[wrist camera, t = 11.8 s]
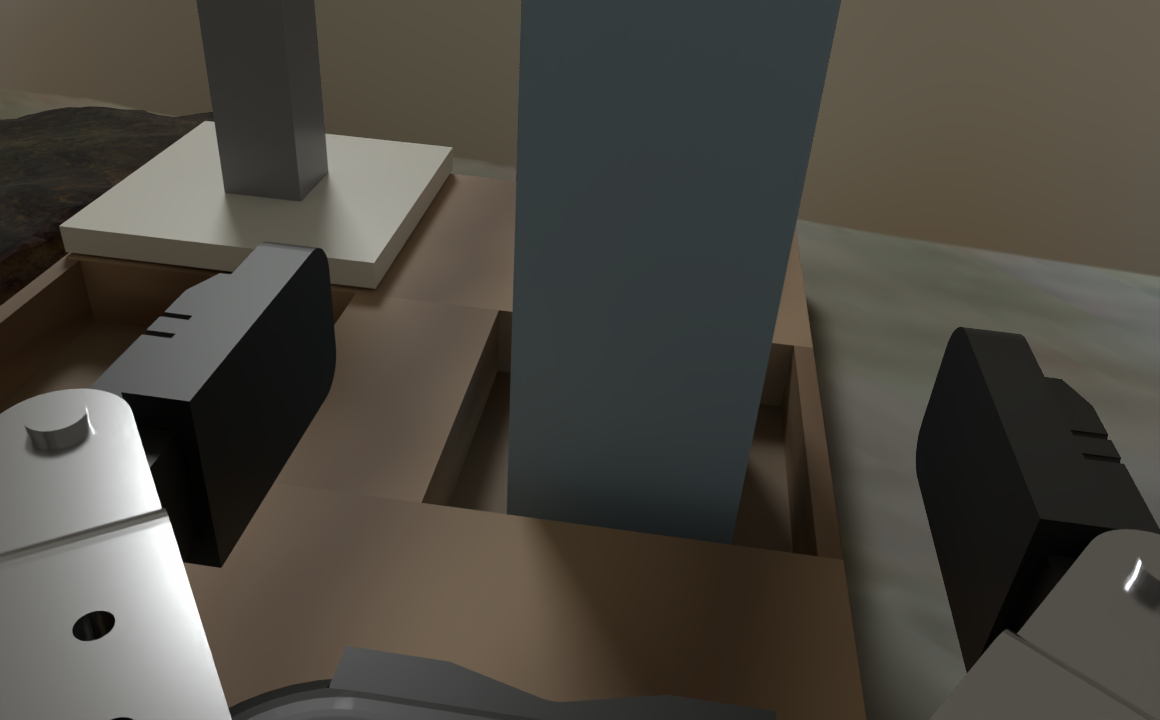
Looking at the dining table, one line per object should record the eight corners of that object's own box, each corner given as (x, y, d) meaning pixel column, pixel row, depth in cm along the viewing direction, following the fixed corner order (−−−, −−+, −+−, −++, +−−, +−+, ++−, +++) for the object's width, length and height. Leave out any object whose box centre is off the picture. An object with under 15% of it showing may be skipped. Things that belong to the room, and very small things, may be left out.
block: (505, 535, 22) (528, -246, 14) (541, 408, 26) (575, -248, 18) (726, 565, 22) (885, -219, 13) (727, 431, 26) (847, -227, 18)
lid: (65, 251, 27) (-32, -135, 22) (208, 142, 35) (161, -166, 30) (375, 288, 27) (352, -101, 21) (452, 169, 34) (449, -141, 29)
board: (-366, 742, 17) (-439, 645, 16) (216, 210, 36) (206, 146, 35) (848, 940, 15) (885, 852, 14) (780, 275, 35) (793, 211, 33)
